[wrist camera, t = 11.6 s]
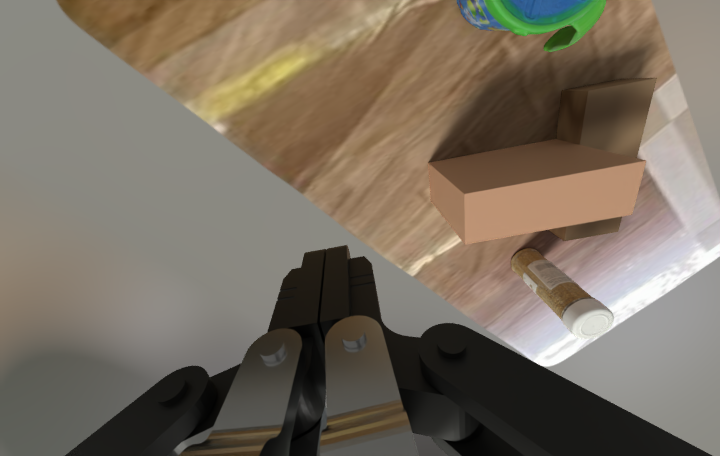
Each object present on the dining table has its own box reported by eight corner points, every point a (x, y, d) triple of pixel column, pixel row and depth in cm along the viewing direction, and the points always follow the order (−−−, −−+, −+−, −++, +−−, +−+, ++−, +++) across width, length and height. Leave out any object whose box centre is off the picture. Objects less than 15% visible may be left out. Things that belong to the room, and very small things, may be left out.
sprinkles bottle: (505, 271, 44) (566, 339, 32) (516, 245, 42) (585, 308, 30) (532, 273, 45) (603, 342, 33) (544, 248, 43) (624, 311, 31)
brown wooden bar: (562, 90, 34) (588, 90, 30) (622, 78, 33) (656, 77, 30) (544, 227, 41) (564, 241, 38) (594, 218, 41) (618, 231, 38)
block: (428, 162, 36) (464, 194, 26) (555, 138, 36) (646, 160, 25) (430, 200, 39) (464, 244, 28) (550, 178, 38) (632, 214, 28)
